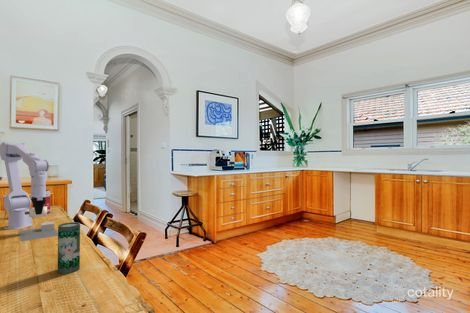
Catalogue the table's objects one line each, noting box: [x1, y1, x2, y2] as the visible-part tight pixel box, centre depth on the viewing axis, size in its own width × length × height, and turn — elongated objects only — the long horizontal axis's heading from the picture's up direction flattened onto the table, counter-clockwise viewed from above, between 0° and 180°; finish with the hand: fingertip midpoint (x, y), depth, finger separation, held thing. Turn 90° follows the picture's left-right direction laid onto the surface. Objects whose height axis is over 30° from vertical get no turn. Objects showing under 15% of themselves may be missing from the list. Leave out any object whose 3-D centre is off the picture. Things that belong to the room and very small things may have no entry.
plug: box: [25, 206, 53, 218], centre depth 129 cm, size 10×4×4 cm, turn 131°
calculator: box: [31, 189, 51, 215], centre depth 167 cm, size 11×4×15 cm, turn 179°
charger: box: [40, 221, 55, 231], centre depth 134 cm, size 5×5×3 cm
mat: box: [18, 227, 58, 242], centre depth 127 cm, size 20×14×1 cm
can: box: [57, 221, 81, 275], centre depth 89 cm, size 6×6×15 cm
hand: (38, 213), depth 129 cm, fingers closed on plug, 4 cm apart
